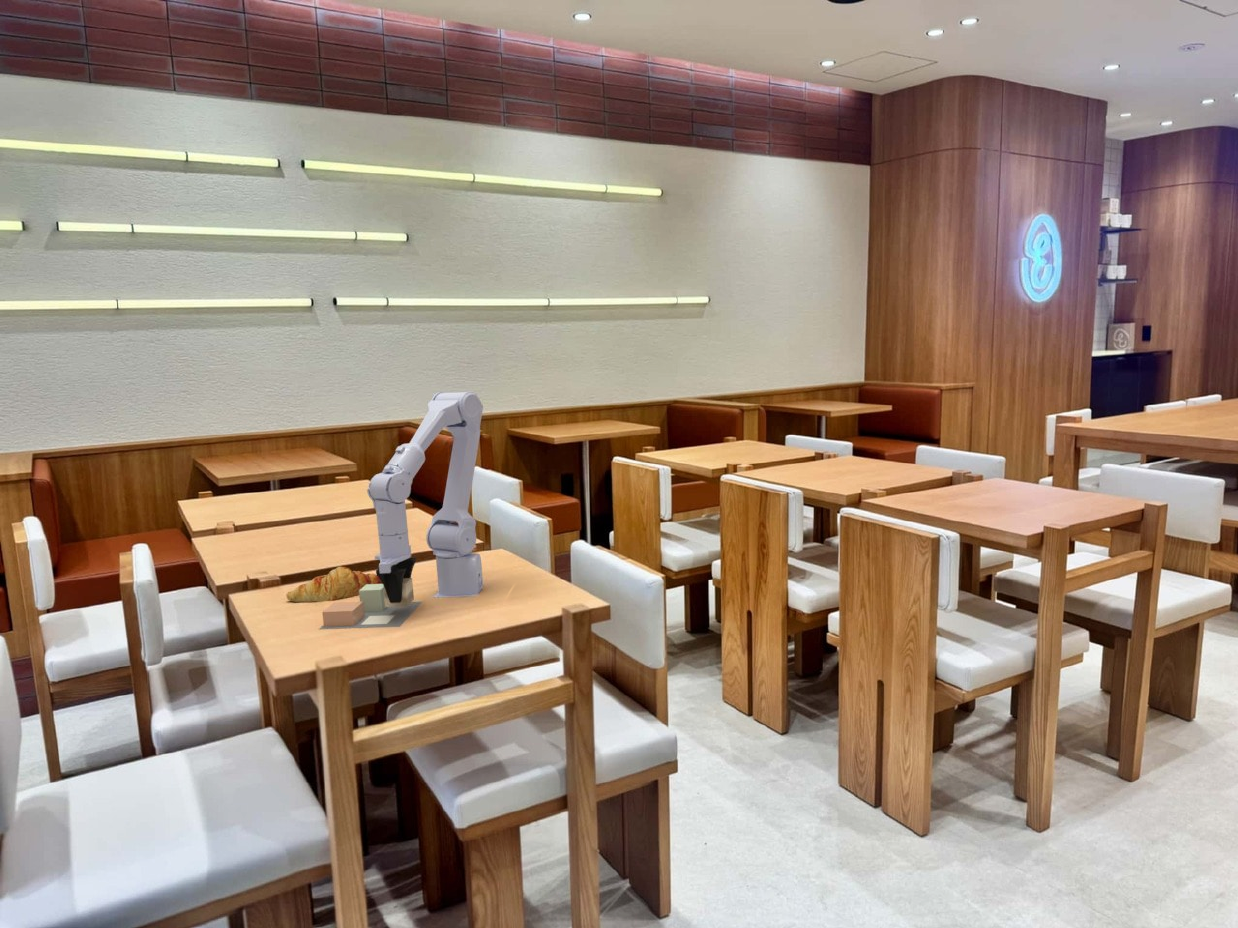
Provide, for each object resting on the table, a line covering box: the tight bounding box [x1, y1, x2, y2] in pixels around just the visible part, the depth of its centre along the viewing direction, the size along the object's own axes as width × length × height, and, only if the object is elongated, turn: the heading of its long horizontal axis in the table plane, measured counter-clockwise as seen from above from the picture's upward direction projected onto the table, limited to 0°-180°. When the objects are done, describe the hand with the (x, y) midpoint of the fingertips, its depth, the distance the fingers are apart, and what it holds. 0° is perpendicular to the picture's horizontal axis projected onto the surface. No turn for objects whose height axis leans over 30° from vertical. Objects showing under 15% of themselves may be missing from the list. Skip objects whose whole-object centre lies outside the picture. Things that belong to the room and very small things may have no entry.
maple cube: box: [383, 577, 415, 607], centre depth 169 cm, size 4×4×4 cm
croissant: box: [285, 566, 383, 603], centre depth 185 cm, size 21×10×8 cm, turn 116°
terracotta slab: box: [321, 601, 365, 627], centre depth 166 cm, size 6×6×3 cm
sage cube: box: [358, 584, 386, 612], centre depth 174 cm, size 4×4×4 cm
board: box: [318, 601, 423, 630], centre depth 169 cm, size 16×16×1 cm
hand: (399, 598), depth 169 cm, fingers closed on maple cube, 4 cm apart
